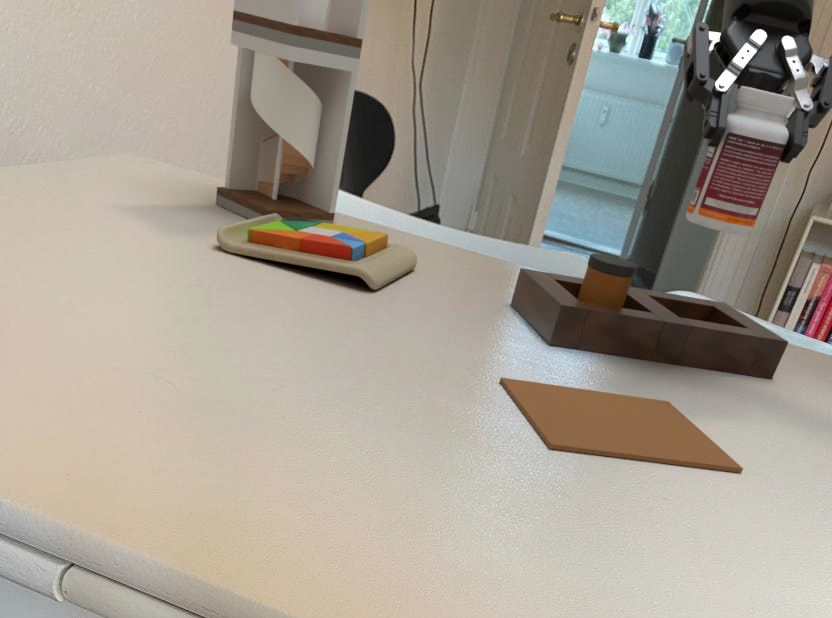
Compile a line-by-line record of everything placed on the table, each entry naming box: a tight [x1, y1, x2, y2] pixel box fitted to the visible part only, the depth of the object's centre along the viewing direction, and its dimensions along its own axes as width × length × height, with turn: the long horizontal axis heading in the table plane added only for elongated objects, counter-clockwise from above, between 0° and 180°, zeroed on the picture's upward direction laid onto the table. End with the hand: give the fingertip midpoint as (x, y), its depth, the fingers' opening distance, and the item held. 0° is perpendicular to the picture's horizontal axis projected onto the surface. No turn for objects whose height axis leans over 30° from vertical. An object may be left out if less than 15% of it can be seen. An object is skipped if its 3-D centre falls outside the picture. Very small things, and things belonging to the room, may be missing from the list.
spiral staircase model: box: [215, 0, 370, 224], centre depth 109 cm, size 11×11×35 cm
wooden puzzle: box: [216, 213, 418, 291], centre depth 102 cm, size 18×19×4 cm
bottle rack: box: [510, 267, 789, 380], centre depth 98 cm, size 26×14×4 cm, turn 97°
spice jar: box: [578, 252, 638, 308], centre depth 96 cm, size 5×5×8 cm
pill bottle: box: [685, 86, 795, 236], centre depth 81 cm, size 6×6×11 cm
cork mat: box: [499, 377, 744, 474], centre depth 74 cm, size 16×14×1 cm
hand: (752, 147), depth 79 cm, fingers closed on pill bottle, 6 cm apart
